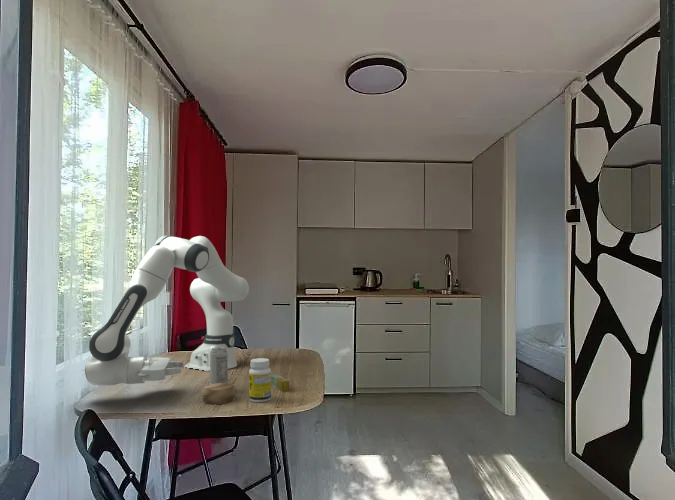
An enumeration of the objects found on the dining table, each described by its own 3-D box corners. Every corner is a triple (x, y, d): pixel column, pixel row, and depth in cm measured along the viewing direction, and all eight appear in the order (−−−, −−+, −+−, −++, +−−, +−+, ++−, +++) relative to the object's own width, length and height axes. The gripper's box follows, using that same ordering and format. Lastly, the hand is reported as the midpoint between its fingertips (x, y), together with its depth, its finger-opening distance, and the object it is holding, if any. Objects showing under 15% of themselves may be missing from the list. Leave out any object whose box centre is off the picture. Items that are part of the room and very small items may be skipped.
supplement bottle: (250, 396, 157) (249, 357, 158) (272, 395, 158) (271, 357, 158) (248, 403, 150) (247, 362, 150) (271, 402, 151) (270, 361, 151)
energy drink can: (222, 387, 169) (221, 345, 170) (231, 390, 165) (230, 347, 165) (207, 391, 165) (206, 348, 165) (215, 394, 161) (215, 350, 161)
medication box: (269, 385, 173) (269, 374, 173) (276, 384, 174) (276, 373, 174) (282, 393, 162) (282, 381, 162) (290, 391, 163) (289, 380, 163)
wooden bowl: (196, 402, 152) (196, 389, 152) (214, 394, 161) (214, 381, 161) (222, 405, 148) (222, 391, 148) (240, 396, 158) (240, 383, 158)
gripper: (133, 366, 149) (179, 363, 152) (143, 355, 169) (184, 352, 172) (133, 387, 149) (179, 383, 152) (144, 372, 169) (184, 370, 172)
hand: (182, 367), depth 162 cm, fingers open, 8 cm apart
